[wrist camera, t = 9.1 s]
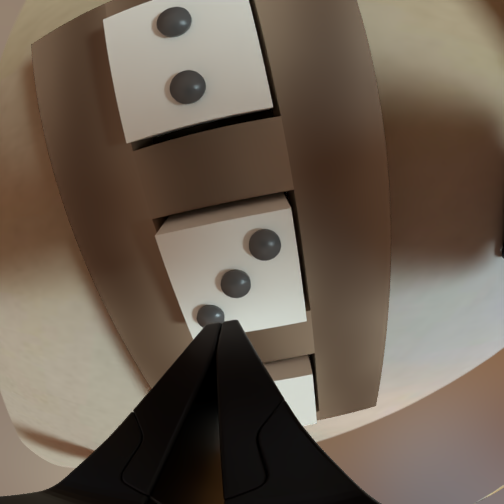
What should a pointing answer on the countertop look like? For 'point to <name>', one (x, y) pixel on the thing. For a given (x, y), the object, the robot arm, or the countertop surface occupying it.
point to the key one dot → (295, 386)
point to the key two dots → (184, 65)
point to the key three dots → (235, 263)
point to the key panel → (236, 189)
